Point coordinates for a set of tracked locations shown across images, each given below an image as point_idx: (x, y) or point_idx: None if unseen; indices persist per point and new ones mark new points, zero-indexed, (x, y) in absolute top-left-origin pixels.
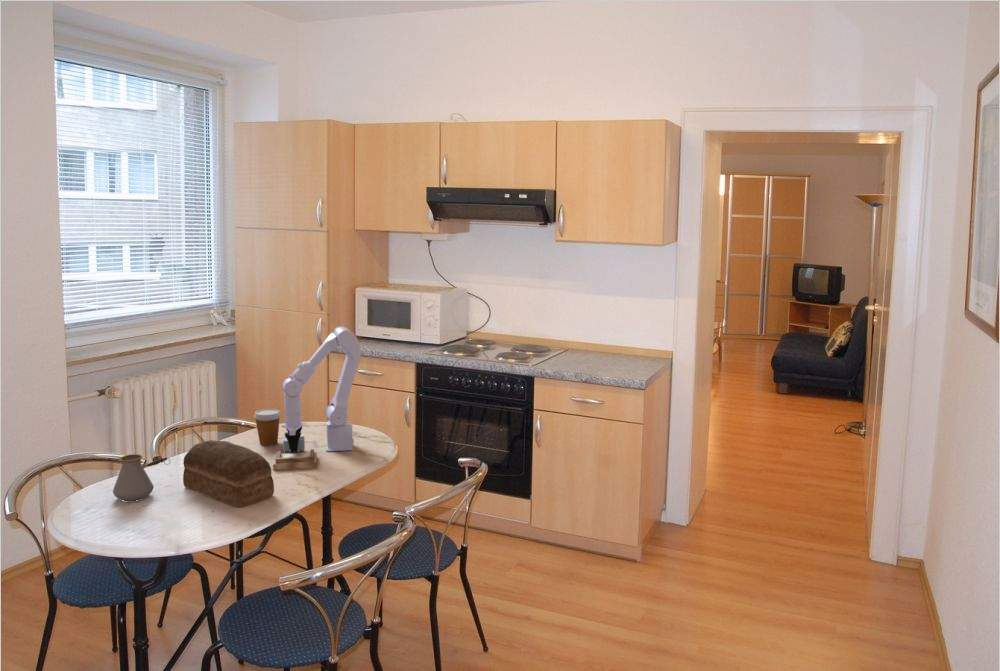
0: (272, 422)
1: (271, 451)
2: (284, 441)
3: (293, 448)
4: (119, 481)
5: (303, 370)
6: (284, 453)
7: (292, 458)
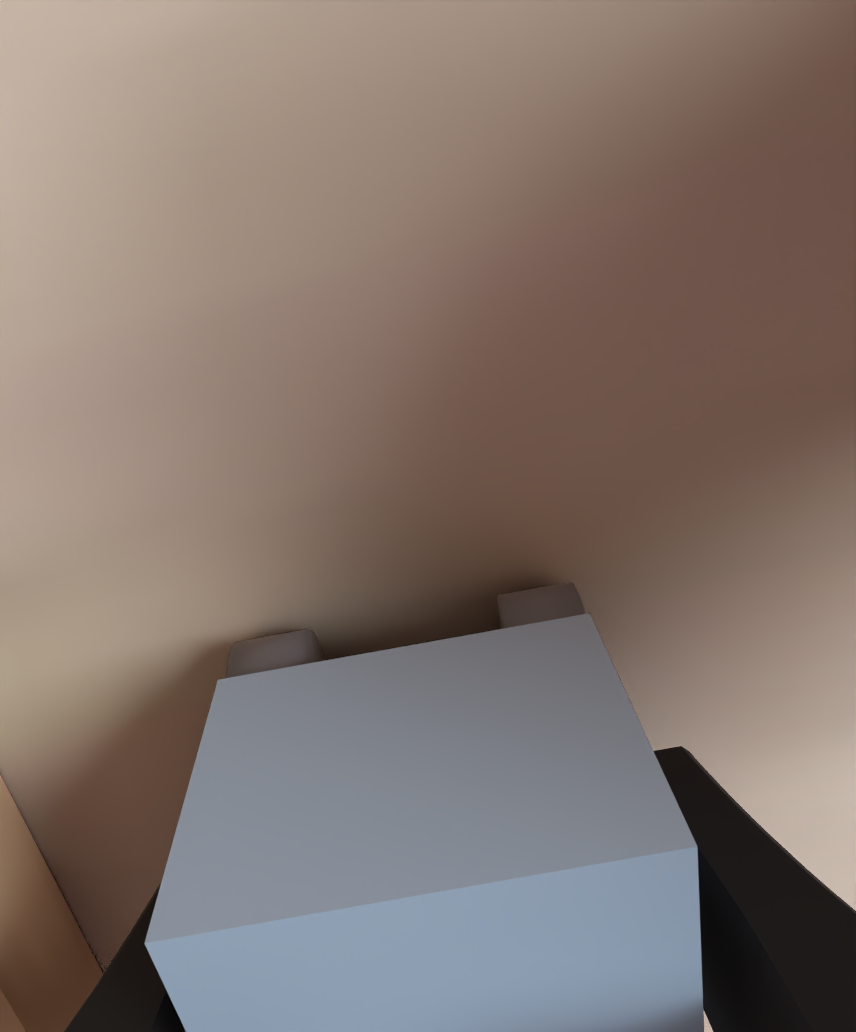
0: None
1: (586, 178)
2: (159, 960)
3: None
4: None
5: None
6: (234, 648)
7: None
